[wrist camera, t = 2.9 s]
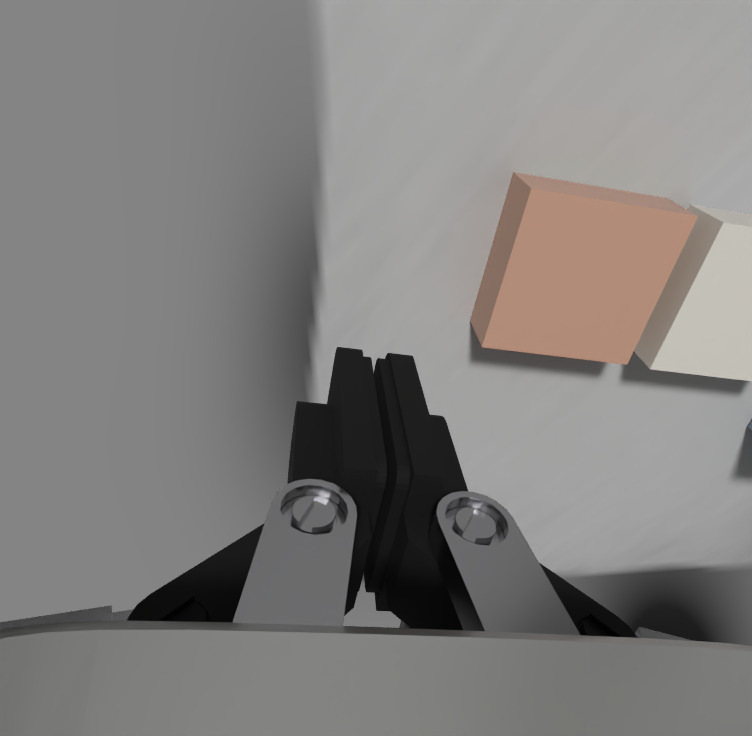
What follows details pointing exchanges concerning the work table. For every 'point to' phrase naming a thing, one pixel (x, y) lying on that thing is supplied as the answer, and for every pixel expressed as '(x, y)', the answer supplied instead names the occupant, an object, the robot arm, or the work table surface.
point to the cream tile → (706, 302)
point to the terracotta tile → (576, 269)
